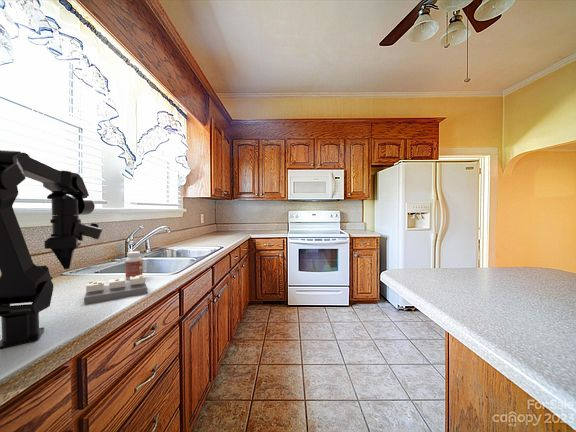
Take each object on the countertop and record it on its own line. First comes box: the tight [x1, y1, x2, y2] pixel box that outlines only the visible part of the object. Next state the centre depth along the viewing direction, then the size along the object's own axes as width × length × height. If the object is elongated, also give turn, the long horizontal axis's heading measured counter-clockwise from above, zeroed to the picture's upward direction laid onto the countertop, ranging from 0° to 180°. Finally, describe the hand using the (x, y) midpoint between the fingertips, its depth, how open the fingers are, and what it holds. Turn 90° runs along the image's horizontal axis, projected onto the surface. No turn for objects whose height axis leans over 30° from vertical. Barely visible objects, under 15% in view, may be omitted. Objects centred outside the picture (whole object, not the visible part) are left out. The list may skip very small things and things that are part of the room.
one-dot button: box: [108, 277, 126, 289], centre depth 85 cm, size 4×4×2 cm
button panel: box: [83, 281, 148, 305], centre depth 85 cm, size 11×17×2 cm, turn 125°
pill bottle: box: [124, 250, 144, 281], centre depth 105 cm, size 6×6×11 cm
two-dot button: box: [129, 274, 146, 285], centre depth 89 cm, size 4×4×2 cm
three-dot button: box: [85, 280, 105, 293], centre depth 82 cm, size 4×4×2 cm
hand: (67, 268), depth 72 cm, fingers closed
